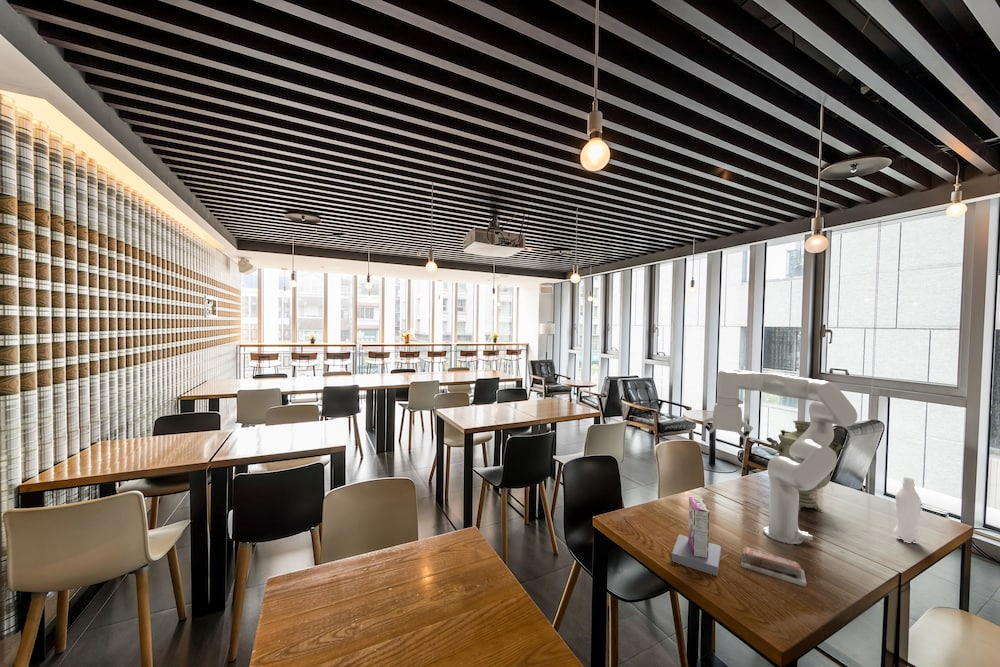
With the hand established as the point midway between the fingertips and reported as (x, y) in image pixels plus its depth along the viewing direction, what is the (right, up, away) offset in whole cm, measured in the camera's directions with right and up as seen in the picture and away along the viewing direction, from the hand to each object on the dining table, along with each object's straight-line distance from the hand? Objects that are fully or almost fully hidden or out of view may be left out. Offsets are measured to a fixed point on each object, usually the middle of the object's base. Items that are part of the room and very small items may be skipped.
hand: (726, 444), depth 156 cm
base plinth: (-20, -36, -16) cm, 44 cm away
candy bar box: (-20, -33, -16) cm, 42 cm away
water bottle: (+73, -39, +1) cm, 83 cm away
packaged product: (+3, -37, -22) cm, 43 cm away
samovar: (+53, -39, +29) cm, 72 cm away
